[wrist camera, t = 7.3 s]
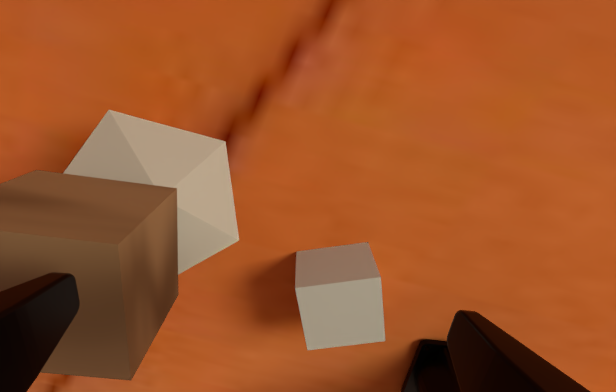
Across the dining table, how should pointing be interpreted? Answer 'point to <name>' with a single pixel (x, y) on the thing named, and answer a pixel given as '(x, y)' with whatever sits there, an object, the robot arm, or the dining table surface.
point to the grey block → (339, 296)
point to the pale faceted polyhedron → (168, 177)
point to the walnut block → (95, 262)
